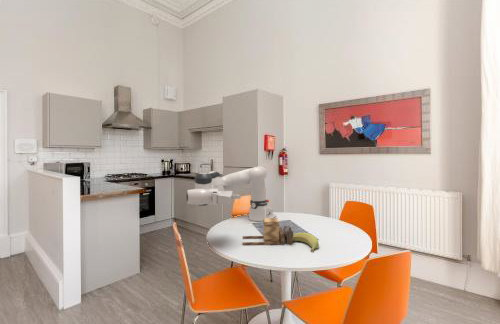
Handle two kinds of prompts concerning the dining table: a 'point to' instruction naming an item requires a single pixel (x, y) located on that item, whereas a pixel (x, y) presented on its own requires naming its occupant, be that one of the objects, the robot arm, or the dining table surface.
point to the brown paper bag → (271, 229)
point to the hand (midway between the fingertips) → (240, 196)
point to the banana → (307, 239)
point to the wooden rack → (282, 235)
